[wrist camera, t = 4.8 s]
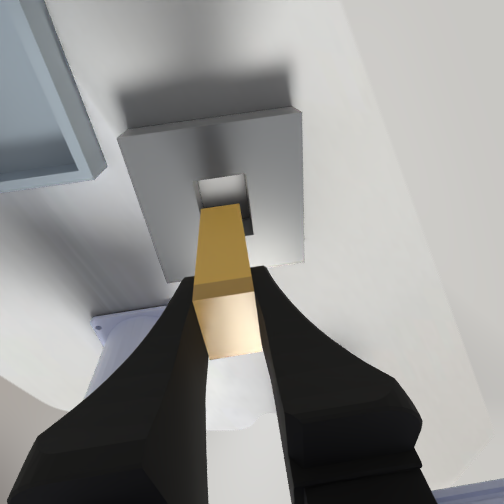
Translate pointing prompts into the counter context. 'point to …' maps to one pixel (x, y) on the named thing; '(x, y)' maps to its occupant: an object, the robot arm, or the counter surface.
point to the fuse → (225, 285)
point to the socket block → (214, 166)
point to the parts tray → (40, 106)
